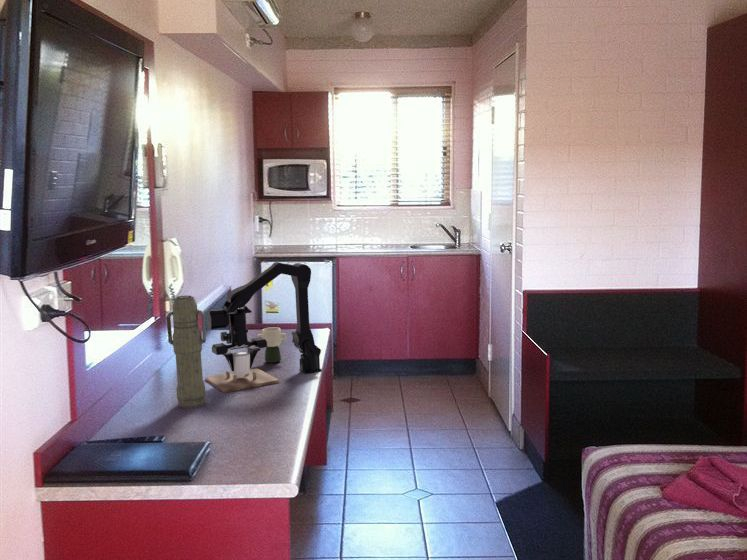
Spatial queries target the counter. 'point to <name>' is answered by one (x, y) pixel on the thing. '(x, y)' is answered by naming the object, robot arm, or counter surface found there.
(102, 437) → the counter surface
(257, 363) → the counter surface
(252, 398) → the counter surface
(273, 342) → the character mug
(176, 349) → the thermos
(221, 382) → the pin plate
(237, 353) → the shot glass
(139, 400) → the counter surface
